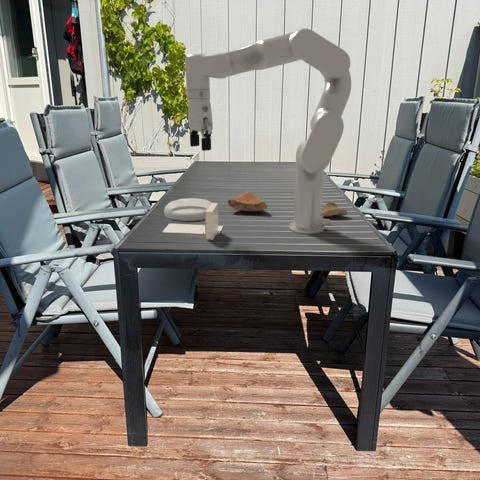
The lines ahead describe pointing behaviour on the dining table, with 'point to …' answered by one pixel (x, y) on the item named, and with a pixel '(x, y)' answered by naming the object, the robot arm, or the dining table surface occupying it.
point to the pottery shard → (332, 210)
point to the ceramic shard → (247, 202)
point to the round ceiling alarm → (187, 209)
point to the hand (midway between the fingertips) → (200, 148)
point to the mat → (187, 228)
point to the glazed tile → (211, 221)
